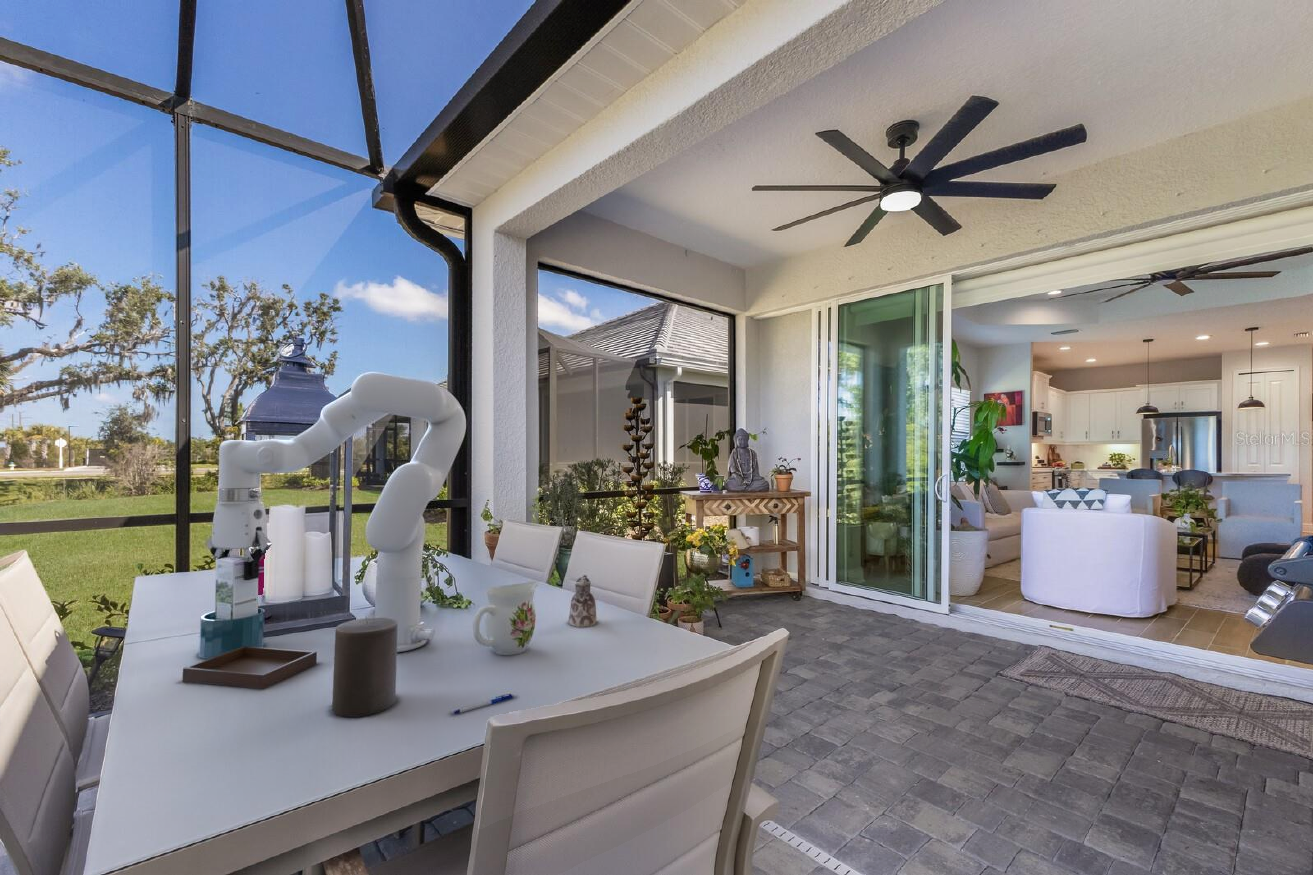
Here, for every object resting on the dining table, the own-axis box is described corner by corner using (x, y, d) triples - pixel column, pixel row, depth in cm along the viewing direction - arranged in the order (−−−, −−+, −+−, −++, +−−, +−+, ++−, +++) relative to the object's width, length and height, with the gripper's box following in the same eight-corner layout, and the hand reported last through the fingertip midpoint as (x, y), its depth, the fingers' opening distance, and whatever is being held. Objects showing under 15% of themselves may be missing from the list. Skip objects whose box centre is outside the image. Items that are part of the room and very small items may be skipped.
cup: (275, 644, 129) (277, 608, 129) (231, 661, 118) (232, 622, 118) (232, 641, 131) (234, 605, 131) (184, 657, 120) (186, 618, 120)
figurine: (565, 625, 147) (566, 578, 147) (573, 618, 154) (574, 573, 154) (591, 627, 146) (592, 580, 146) (599, 620, 153) (600, 574, 153)
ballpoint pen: (510, 697, 103) (510, 692, 103) (513, 698, 102) (513, 693, 102) (453, 714, 96) (453, 708, 96) (456, 715, 95) (456, 709, 95)
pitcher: (456, 657, 122) (458, 592, 123) (519, 636, 137) (521, 578, 138) (490, 668, 116) (492, 600, 117) (553, 645, 131) (554, 585, 132)
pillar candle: (353, 723, 91) (356, 628, 92) (320, 708, 97) (323, 618, 97) (407, 701, 100) (410, 614, 100) (374, 689, 105) (377, 606, 105)
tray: (316, 664, 117) (317, 651, 117) (262, 689, 104) (263, 675, 104) (243, 658, 120) (244, 646, 120) (182, 681, 107) (182, 668, 107)
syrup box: (259, 621, 127) (260, 555, 127) (231, 629, 121) (233, 560, 122) (240, 619, 128) (242, 554, 129) (212, 626, 123) (214, 558, 123)
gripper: (287, 495, 128) (286, 576, 127) (221, 495, 131) (219, 574, 130) (259, 497, 121) (257, 583, 120) (189, 497, 123) (187, 581, 123)
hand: (237, 577), depth 125 cm, fingers closed on syrup box, 6 cm apart
